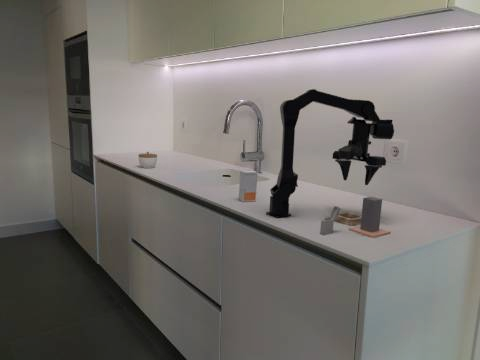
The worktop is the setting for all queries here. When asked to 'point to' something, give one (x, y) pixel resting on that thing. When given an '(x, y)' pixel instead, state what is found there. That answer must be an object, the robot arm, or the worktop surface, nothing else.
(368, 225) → the dark grey block
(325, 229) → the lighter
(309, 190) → the worktop surface
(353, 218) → the wooden square frame
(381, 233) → the tile
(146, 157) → the lidded jar
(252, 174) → the skincare box
